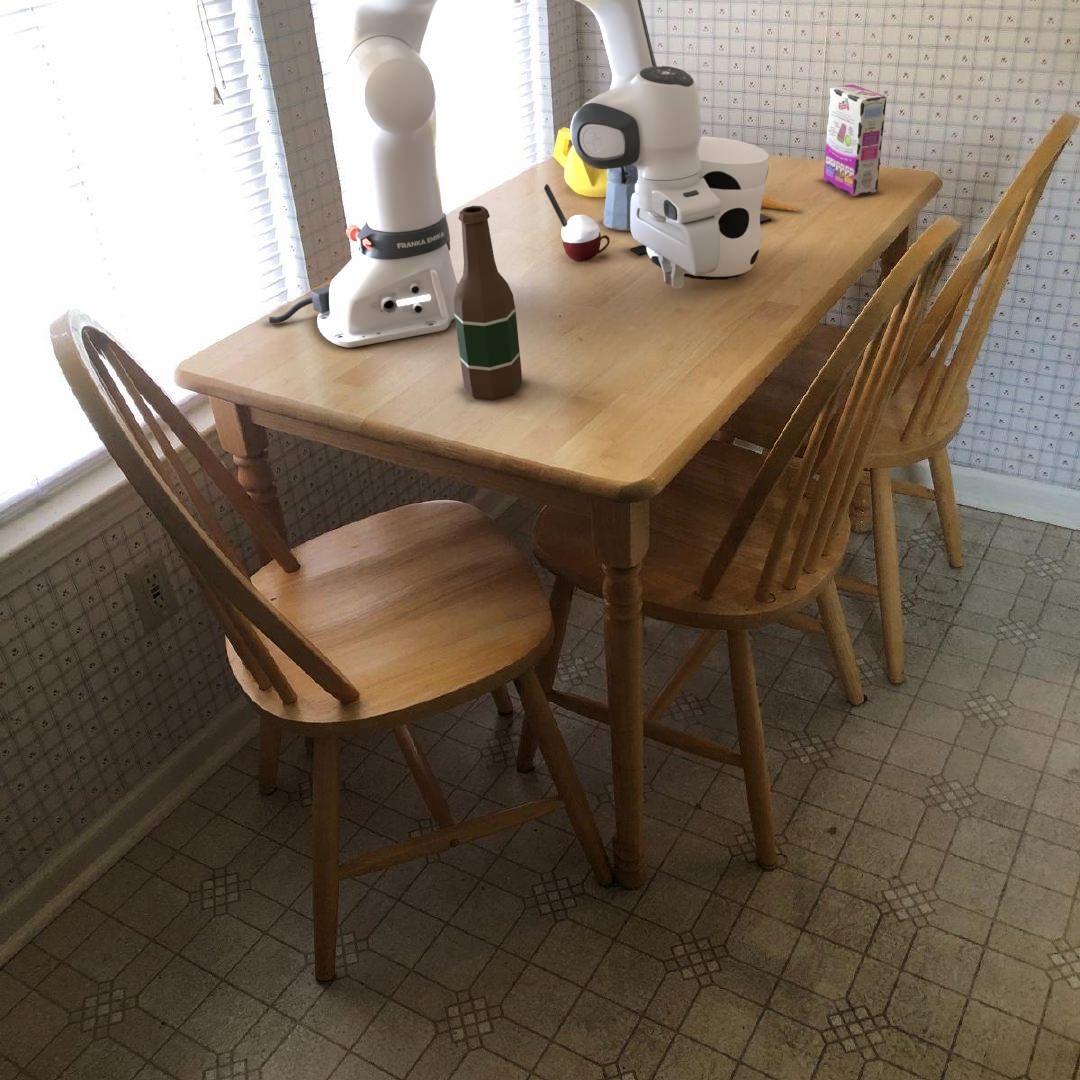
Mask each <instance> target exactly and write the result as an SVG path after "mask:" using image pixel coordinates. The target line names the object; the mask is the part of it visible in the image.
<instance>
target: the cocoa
mask: <svg viewBox="0 0 1080 1080" xmlns="http://www.w3.org/2000/svg"><path fill="white" fill-rule="evenodd" d="M543 190H544V192H545V194H546V196H547V198H548V200H549V202H550V203H551V206H552V207H553V209H554V211H555V214H556V215H557V217H558V219H559V221H560V223H561V225H562V227H561V233H560V235H561V242H562V245H563V248H564V251H565V254H566V255H567V256H568V257H569V258H570V259H571V260H573V261H575V262H587V261H591V260H592V259H594V258H595V257H596V256H597V255H599V254H601V253H603V251H605V250H606V249H607V248H608V247H609V245H610V243H611V242H610V241H611V239H610V237H609V236H608V235H606V234H604V235H601V232H600V227H599V224H598V223H597V222H596V221H595V220H594V219H593V218H592V217H591V216H588V215H585V214H576V215H573V216H571V217H570V218H569V219H568V221H567V218H566V217H565V214H564V213H563V211H562V209H561V207H560V205H559V203H558V201H557V199H556V197H555V195H554V193H553V191H552V189H551V187H550V185H549V184H548V183H546V184H545V185H544V186H543ZM602 239H606V241H607V242H606V244H605V245H604V246H603V247H602V248H601V245H602V243H601V242H602Z"/></svg>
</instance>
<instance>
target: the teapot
mask: <svg viewBox="0 0 1080 1080" xmlns="http://www.w3.org/2000/svg"><path fill="white" fill-rule="evenodd" d="M570 141H572V140H571V128H568V127H565V126H564V127H561V128H559V129H558V131H557V136H556V141H555V144H554V150H553V154H552V157H553V158H554V159H555V160H556V161H557V162H558V163H559V164H560V165H561V166H562V167H563V168H564V180H565V182H566V184H567V185H568V187H569V188H570V189H571V190H572V191H574V193H576V194H578V195H581V196H585V197H591V198H606V192H607V183H608V178H607V169H596V168H593V167H591V166H589V165H587V164H586V163H585V162H584V161H583V160H582V159H581V158H580V157H579V156H578V154H577V153H576V151H575V149H574V147H573V145H571V148H570V150H568V148H569V143H570Z"/></svg>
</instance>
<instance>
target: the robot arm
mask: <svg viewBox="0 0 1080 1080" xmlns="http://www.w3.org/2000/svg"><path fill="white" fill-rule="evenodd" d="M574 1H575V2H577V3H581V4H582V5H584V6H585V7H587V8H588V9H589V10H590V11H591V12H592V13H593V15H594V16H595V18H596V20H597V21H598V25H599V27H600V31H601V35H602V39H603V43H604V46H605V50H606V55H607V58H608V61H609V66H610V69H611V74H612V77H611V78H612V79H611V84H610V88H609V89H608V90H606V91H604V92H602V93H600V94H598V95H596V96H595V97H593V98H591V99H589V100H588V101H586V102H585V103H583V104H582V105H581V106H580V107H579V108H578V109H577V110H576V111H575V113H574V114H573V116H572V119H571V123H570V129H571V140H570V141H571V143H572V146H573V147H574V149H575V151H576V153H577V154H578V156H579V157H580V158H581V159H582V160H583V161H584V162H585V163H586V164H587V165H589V166H591V167H593V168H596V169H612V168H619V167H625V166H629V165H634V166H636V167H637V170H638V181H637V183H636V184H635V193H634V194H633V195H632V197H631V206H630V229H631V230H630V233H631V236H632V239H633V240H634V241H636V242H638V243H640V245H645V246H646V247H648V248H650V249H651V250H653V251H655V252H656V253H658V259H659V262H660V265H661V268H662V269H661V268H660V269H661V270H662V272H663V273H662V274H663V282H664V283H665V284H666V285H668V286H669V287H671V288H672V289H675V290H676V289H680V288H683V287H684V285H685V277H684V274H685V272H686V271H688V272H689V273H691V274H693V275H694V276H700V275H704V274H708V273H711V272H714V271H715V270H716V268H717V267H718V264H719V256H720V232H719V224H718V221H717V219H716V217H715V216H714V215H717V214H719V213H720V211H721V203H720V200H719V198H718V197H717V196H716V195H715V194H714V193H713V191H712V190H711V189H710V188H709V186H708V185H707V183H706V181H705V179H704V178H702V166H701V161H700V158H699V154H698V148H699V142H700V138H701V136H702V127H701V126H702V125H701V124H702V123H701V112H700V111H701V109H700V102H699V101H700V100H699V94H698V88H697V85H696V82H695V80H694V79H693V77H692V75H691V74H690V73H688V72H686V71H685V70H684V69H681V68H678V67H674V66H668V65H662V66H657V62H656V59H655V55H654V50H653V47H652V42H651V38H650V33H649V29H648V26H647V21H646V16H645V13H644V8H643V4H642V0H574ZM437 2H438V0H349V1H348V6H347V11H346V15H345V20H344V25H343V30H342V34H341V35H342V36H341V39H340V40H341V41H340V46H339V53H338V56H337V66H336V72H337V73H336V74H337V79H338V82H339V85H340V88H341V90H342V91H343V93H344V94H345V96H346V97H347V99H348V100H349V103H350V105H351V109H352V112H353V116H354V124H355V133H356V142H357V155H358V175H359V180H360V186H361V192H362V193H361V194H362V199H363V204H364V209H365V215H366V222H365V223H364V226H363V227H362V228H359V226H357V225H356V224H350V225H349V226H347V228H346V229H345V231H346V232H345V234H346V236H347V237H348V239H350V240H351V241H352V242H357V248H358V252H357V253H356V254H355V255H354V256H353V257H352V258H351V259H350V260H349V262H348V263H347V264H346V265H345V266H344V267H343V268H342V269H341V270H340V271H339V272H338V273H337V275H335V276H334V277H333V278H332V280H331V282H330V283H329V284H327V285H324V286H321V287H319V288H316V289H313V290H310V296H309V297H306V298H304V299H301V300H300V301H298V302H297V303H295V304H294V305H292V306H291V307H290V308H289V309H288V310H287V311H286V312H285V313H283V314H281V315H278V316H269V317H268V320H269V321H268V322H269V324H281V323H283V322H285V321H287V320H289V319H290V318H292V316H293V315H295V314H296V313H297V312H298V311H299V310H300V309H302V308H305V307H306V306H308V305H312V307H313V310H314V311H316V312H318V315H317V317H316V318H317V319H316V321H317V328H318V330H319V332H320V333H321V334H322V336H323V337H324V338H325V339H326V340H327V341H329V342H331V343H332V344H334V345H337V346H340V347H343V348H347V349H348V348H349V349H350V348H357V347H361V346H367V345H373V344H379V343H384V342H389V341H393V340H400V339H405V338H411V337H417V336H421V335H422V336H423V335H427V334H433V333H438V332H443V331H445V330H447V329H448V328H449V326H451V322H452V321H453V320H455V315H454V296H455V291H456V287H457V285H458V284H459V282H458V280H457V278H456V274H455V269H454V267H453V263H452V259H451V254H450V253H451V252H450V251H451V234H450V228H449V223H448V219H447V214H446V213H445V212H444V210H443V205H442V196H441V188H440V180H439V173H438V163H437V162H438V161H437V113H436V112H437V111H436V99H437V98H436V97H437V96H436V95H437V94H436V86H435V85H436V84H435V81H434V76H433V73H432V71H431V68H430V66H429V65H428V63H427V61H425V59H424V58H423V57H422V50H423V49H422V48H423V44H424V41H425V37H426V34H427V30H428V27H429V23H430V21H431V16H432V13H433V11H434V9H435V6H436V4H437Z"/></svg>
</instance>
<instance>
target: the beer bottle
mask: <svg viewBox="0 0 1080 1080" xmlns="http://www.w3.org/2000/svg"><path fill="white" fill-rule="evenodd" d="M490 217H491V215H490V212H489V210H488V209H487V208H486V207H485V206H482V205H471V206H466V207H463V208H462V209H461V210H460V211H459V213H458V221H460V222H461V235H462V253H463V256H462V257H463V270H462V271H463V272H462V276H461V278H460V280H459V281H458V285H457V287H456V291H455V296H454V315H455V318H454V322H455V330H456V337H457V344H458V351H459V359H460V367H461V368H460V369H461V376H462V381H463V386H464V389H465V390H466V391H467V392H468V394H469V395H470V396H471V397H472V398H473V399H476V400H484V401H485V400H486V401H492V402H493V401H497V400H502V399H504V398H509V397H512V396H514V395H515V394H516V393H517V391H518V389H519V388H520V387H521V386H522V384H523V378H522V377H523V371H522V362H521V361H522V360H521V350H520V342H519V341H520V340H519V330H518V319H517V309H516V303H515V298H514V293H513V291H512V288H511V287H510V285H509V283H508V282H507V281H506V279H505V278H504V277H503V276H502V274H501V273H500V272H499V270H498V266H497V263H496V261H495V253H494V249H493V243H492V236H491V231H490V226H489V225H490V224H489V218H490Z"/></svg>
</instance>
